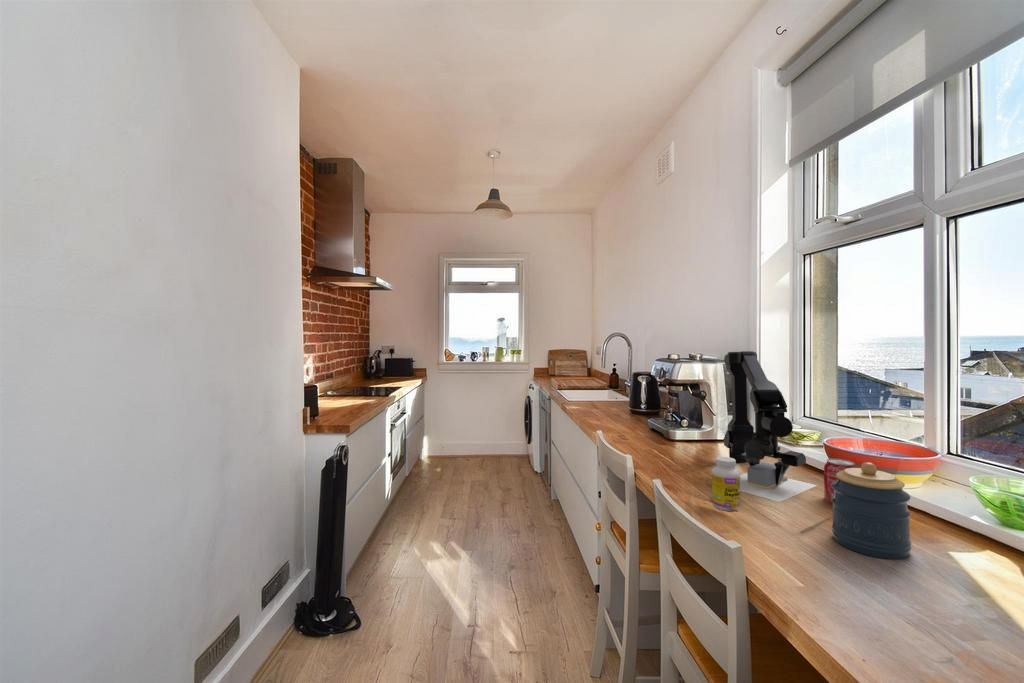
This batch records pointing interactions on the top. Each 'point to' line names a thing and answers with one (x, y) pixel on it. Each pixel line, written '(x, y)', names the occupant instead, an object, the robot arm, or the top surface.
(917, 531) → the top surface
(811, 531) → the top surface
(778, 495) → the board
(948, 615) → the top surface
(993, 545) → the top surface
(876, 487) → the canister
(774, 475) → the block
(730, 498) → the supplement bottle
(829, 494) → the soda can
